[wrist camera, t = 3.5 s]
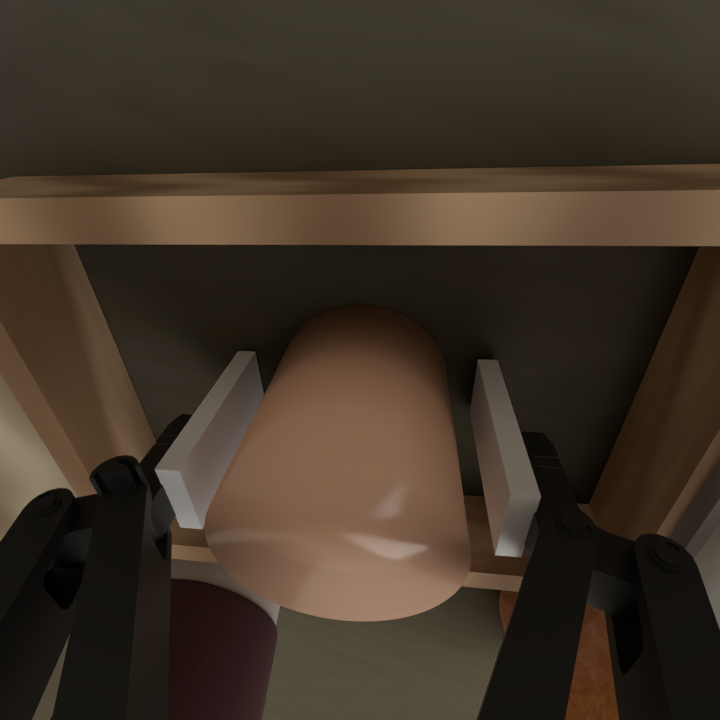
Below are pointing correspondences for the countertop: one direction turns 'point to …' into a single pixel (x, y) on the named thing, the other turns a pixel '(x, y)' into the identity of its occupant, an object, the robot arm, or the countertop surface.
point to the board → (22, 461)
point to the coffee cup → (217, 645)
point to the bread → (584, 666)
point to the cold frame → (376, 227)
